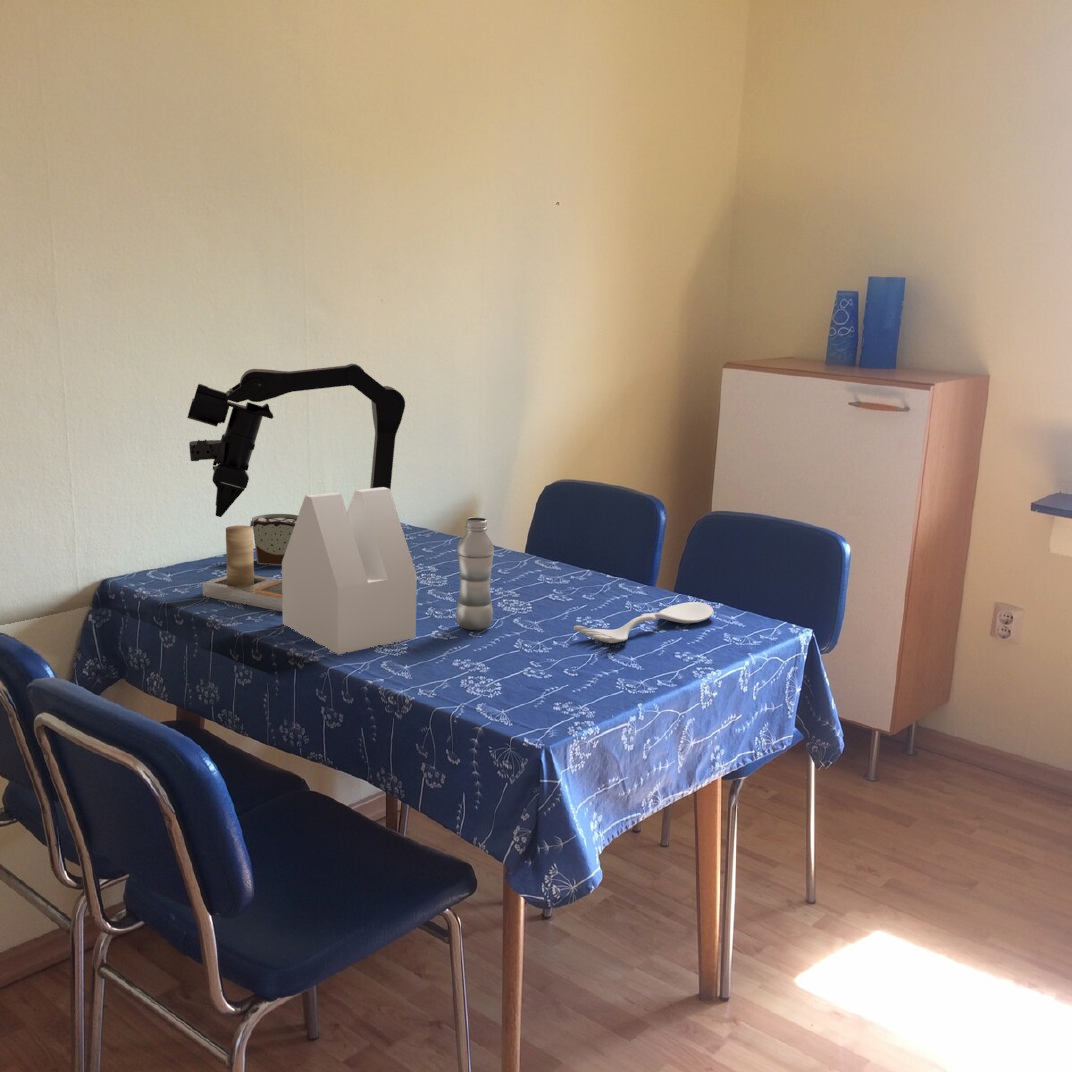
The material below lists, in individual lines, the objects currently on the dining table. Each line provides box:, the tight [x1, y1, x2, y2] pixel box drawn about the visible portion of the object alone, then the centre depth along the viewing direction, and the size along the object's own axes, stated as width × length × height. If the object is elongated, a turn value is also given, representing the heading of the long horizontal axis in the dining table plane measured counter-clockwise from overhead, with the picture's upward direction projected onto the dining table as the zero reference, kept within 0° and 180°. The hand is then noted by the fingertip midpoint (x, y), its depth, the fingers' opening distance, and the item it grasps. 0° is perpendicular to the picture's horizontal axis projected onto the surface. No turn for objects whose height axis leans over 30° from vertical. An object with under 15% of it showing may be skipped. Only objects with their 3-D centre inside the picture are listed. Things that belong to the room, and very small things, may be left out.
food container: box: [249, 513, 299, 566], centre depth 238 cm, size 12×6×10 cm, turn 84°
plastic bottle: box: [455, 516, 495, 631], centre depth 197 cm, size 6×7×20 cm
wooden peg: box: [225, 524, 255, 588], centre depth 213 cm, size 5×5×13 cm
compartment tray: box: [202, 574, 283, 613], centre depth 212 cm, size 21×10×3 cm, turn 65°
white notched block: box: [281, 487, 418, 655], centre depth 192 cm, size 19×15×25 cm
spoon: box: [573, 601, 715, 644], centre depth 202 cm, size 9×32×4 cm, turn 134°
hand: (218, 511), depth 213 cm, fingers open, 9 cm apart
